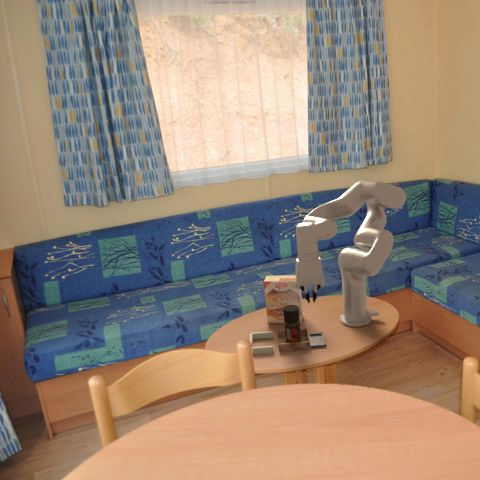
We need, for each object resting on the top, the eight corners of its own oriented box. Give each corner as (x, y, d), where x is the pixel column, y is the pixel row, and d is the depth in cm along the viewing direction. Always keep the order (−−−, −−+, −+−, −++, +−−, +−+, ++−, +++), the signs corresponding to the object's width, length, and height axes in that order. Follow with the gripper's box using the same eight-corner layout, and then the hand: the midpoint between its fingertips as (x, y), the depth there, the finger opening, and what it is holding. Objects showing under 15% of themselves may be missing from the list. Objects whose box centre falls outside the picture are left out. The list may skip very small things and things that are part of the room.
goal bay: (272, 336, 188) (272, 331, 187) (273, 352, 176) (273, 346, 175) (250, 338, 188) (250, 332, 188) (250, 354, 176) (249, 348, 175)
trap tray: (322, 334, 185) (322, 332, 185) (326, 346, 175) (326, 344, 175) (307, 335, 185) (307, 333, 185) (310, 348, 176) (310, 345, 176)
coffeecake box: (267, 323, 200) (263, 281, 194) (269, 315, 206) (265, 275, 201) (302, 323, 196) (298, 280, 191) (303, 315, 203) (300, 274, 198)
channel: (307, 334, 186) (307, 327, 185) (310, 349, 175) (310, 342, 174) (277, 336, 187) (277, 330, 186) (279, 351, 176) (278, 344, 175)
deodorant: (302, 339, 183) (299, 305, 179) (299, 347, 177) (296, 311, 173) (288, 338, 185) (285, 304, 181) (284, 346, 179) (281, 310, 175)
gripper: (327, 250, 174) (330, 295, 179) (286, 254, 175) (290, 299, 180) (330, 257, 167) (333, 303, 172) (287, 260, 168) (291, 307, 173)
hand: (311, 301), depth 176 cm, fingers closed
